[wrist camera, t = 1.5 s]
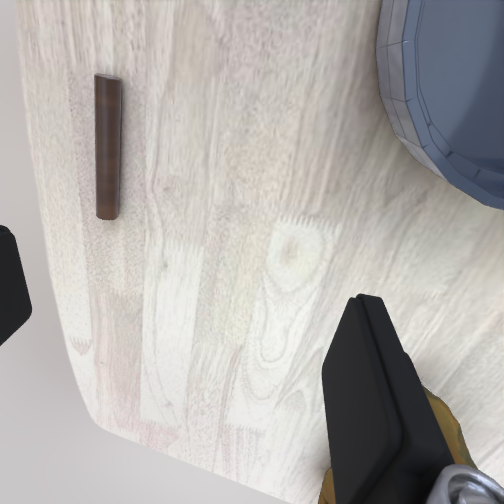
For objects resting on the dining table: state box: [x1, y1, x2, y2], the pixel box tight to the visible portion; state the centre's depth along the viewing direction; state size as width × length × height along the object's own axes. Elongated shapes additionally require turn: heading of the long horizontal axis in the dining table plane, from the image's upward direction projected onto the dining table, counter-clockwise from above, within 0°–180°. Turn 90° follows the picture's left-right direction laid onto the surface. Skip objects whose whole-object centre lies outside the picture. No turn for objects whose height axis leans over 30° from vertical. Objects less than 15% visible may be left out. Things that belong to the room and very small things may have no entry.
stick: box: [94, 74, 122, 220], centre depth 23 cm, size 10×2×2 cm
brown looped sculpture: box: [318, 386, 478, 504], centre depth 32 cm, size 18×13×22 cm
